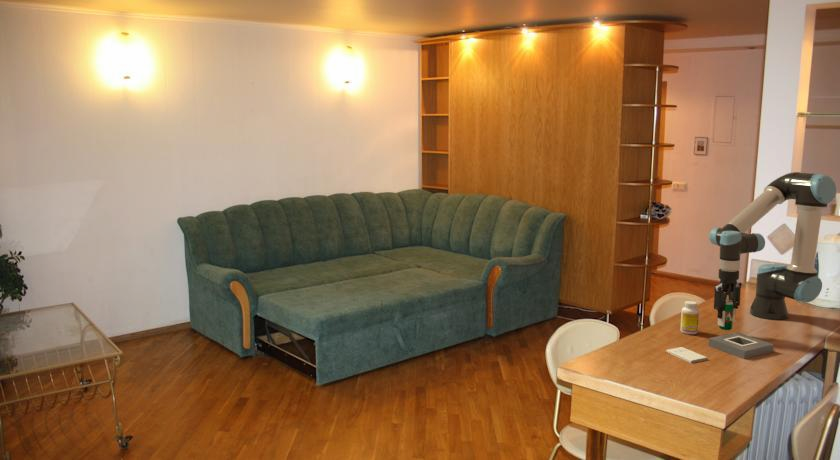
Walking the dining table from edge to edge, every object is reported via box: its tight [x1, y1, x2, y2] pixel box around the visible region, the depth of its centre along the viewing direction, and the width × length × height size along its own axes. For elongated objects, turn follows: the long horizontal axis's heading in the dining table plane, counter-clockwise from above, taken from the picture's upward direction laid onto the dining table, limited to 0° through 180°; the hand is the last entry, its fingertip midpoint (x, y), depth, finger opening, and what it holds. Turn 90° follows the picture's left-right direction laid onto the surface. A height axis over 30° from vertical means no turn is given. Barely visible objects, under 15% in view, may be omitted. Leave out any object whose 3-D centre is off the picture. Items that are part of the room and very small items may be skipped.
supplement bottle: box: [680, 300, 700, 335], centre depth 272 cm, size 7×7×13 cm
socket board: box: [708, 331, 775, 360], centre depth 253 cm, size 16×16×3 cm
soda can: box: [718, 298, 734, 331], centre depth 268 cm, size 5×5×12 cm
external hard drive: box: [665, 346, 709, 364], centre depth 247 cm, size 2×8×12 cm
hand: (725, 324), depth 269 cm, fingers closed on soda can, 5 cm apart
